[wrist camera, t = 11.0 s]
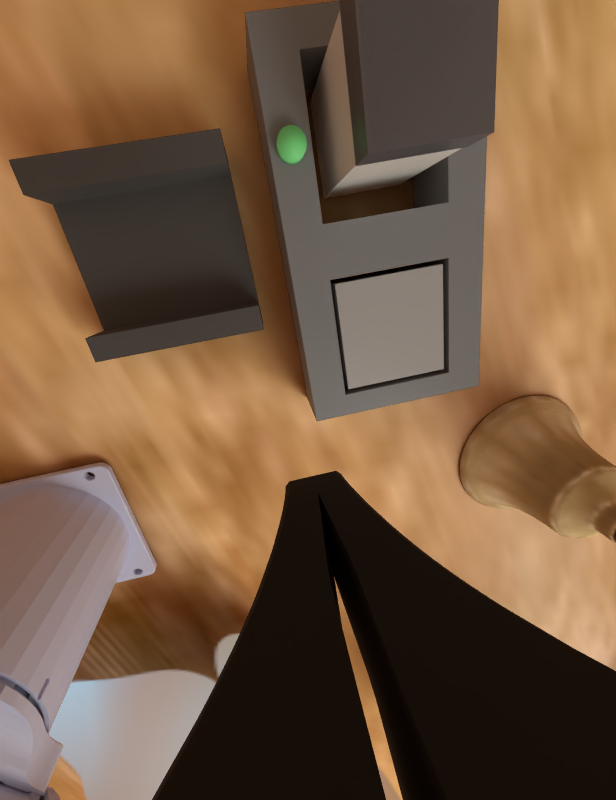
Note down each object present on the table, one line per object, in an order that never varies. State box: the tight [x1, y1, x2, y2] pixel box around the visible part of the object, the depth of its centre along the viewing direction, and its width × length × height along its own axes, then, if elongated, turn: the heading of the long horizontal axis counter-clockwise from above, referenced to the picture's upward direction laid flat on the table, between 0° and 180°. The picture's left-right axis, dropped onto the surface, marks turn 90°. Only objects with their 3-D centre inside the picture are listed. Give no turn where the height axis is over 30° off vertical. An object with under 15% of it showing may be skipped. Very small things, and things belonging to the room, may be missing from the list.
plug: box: [310, 0, 499, 198], centre depth 11 cm, size 4×4×6 cm
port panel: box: [245, 1, 487, 421], centre depth 14 cm, size 8×14×3 cm, turn 9°
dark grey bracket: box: [9, 128, 264, 362], centre depth 14 cm, size 7×7×2 cm
